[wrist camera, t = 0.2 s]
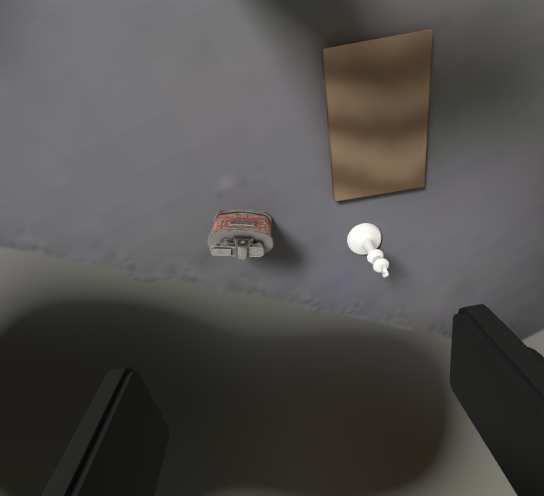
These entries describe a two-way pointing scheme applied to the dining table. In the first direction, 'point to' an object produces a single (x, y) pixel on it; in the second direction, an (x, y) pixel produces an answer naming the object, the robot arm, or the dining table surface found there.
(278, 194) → the dining table surface
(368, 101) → the walnut board
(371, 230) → the chess piece
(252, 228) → the lighter
